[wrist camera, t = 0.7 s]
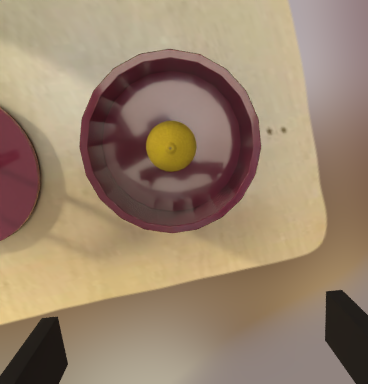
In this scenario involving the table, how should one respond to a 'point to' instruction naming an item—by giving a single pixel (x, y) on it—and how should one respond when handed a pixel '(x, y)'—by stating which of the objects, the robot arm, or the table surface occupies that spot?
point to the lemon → (171, 146)
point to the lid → (16, 176)
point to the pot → (160, 112)
